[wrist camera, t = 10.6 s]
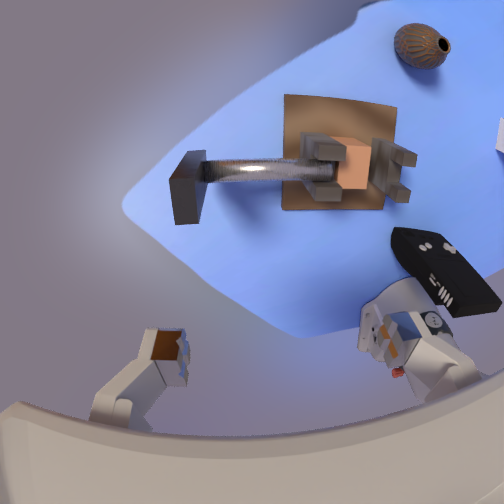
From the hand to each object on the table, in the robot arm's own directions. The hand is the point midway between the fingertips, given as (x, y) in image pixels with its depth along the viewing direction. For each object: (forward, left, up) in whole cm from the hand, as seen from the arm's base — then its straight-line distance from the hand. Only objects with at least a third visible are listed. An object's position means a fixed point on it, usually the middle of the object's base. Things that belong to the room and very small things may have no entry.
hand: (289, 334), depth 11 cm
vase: (+18, -23, -30) cm, 42 cm away
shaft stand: (0, -13, -30) cm, 32 cm away
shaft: (0, -1, -24) cm, 24 cm away
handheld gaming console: (-14, -30, -30) cm, 44 cm away
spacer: (0, -12, -29) cm, 31 cm away
